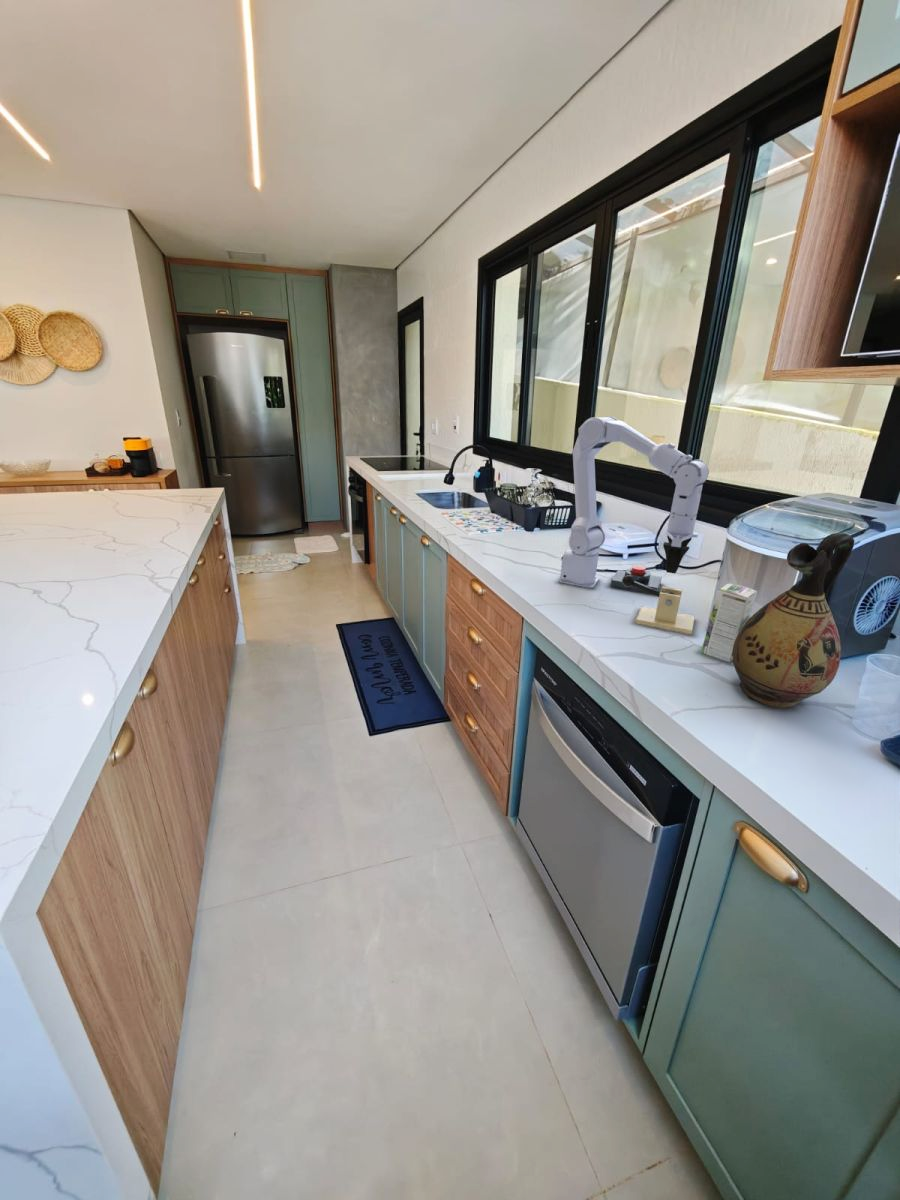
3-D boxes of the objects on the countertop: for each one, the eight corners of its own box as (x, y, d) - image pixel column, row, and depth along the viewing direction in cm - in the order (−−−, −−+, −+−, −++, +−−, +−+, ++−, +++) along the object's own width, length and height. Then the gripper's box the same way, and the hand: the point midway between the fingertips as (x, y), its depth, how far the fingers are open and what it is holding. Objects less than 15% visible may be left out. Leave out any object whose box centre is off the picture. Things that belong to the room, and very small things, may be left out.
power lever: (619, 585, 119) (624, 575, 118) (621, 581, 122) (626, 571, 120) (672, 608, 116) (678, 598, 114) (673, 604, 118) (679, 594, 116)
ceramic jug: (783, 729, 81) (843, 551, 70) (705, 681, 94) (744, 525, 83) (848, 706, 88) (913, 540, 76) (766, 665, 101) (811, 517, 89)
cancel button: (629, 574, 139) (630, 568, 138) (632, 570, 142) (633, 564, 141) (643, 576, 137) (644, 570, 137) (645, 572, 140) (646, 566, 140)
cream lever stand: (635, 623, 118) (640, 592, 115) (641, 610, 125) (646, 581, 122) (691, 635, 112) (698, 603, 110) (693, 620, 120) (700, 590, 117)
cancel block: (610, 587, 139) (612, 573, 138) (617, 576, 148) (619, 563, 146) (656, 595, 134) (658, 581, 133) (660, 584, 143) (663, 570, 141)
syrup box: (710, 644, 108) (726, 581, 103) (740, 654, 105) (758, 589, 99) (700, 653, 105) (716, 588, 99) (730, 663, 101) (748, 597, 95)
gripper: (700, 522, 111) (688, 579, 116) (703, 509, 123) (691, 562, 128) (666, 518, 114) (655, 574, 119) (672, 506, 126) (662, 558, 131)
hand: (672, 568), depth 124 cm, fingers open, 7 cm apart
